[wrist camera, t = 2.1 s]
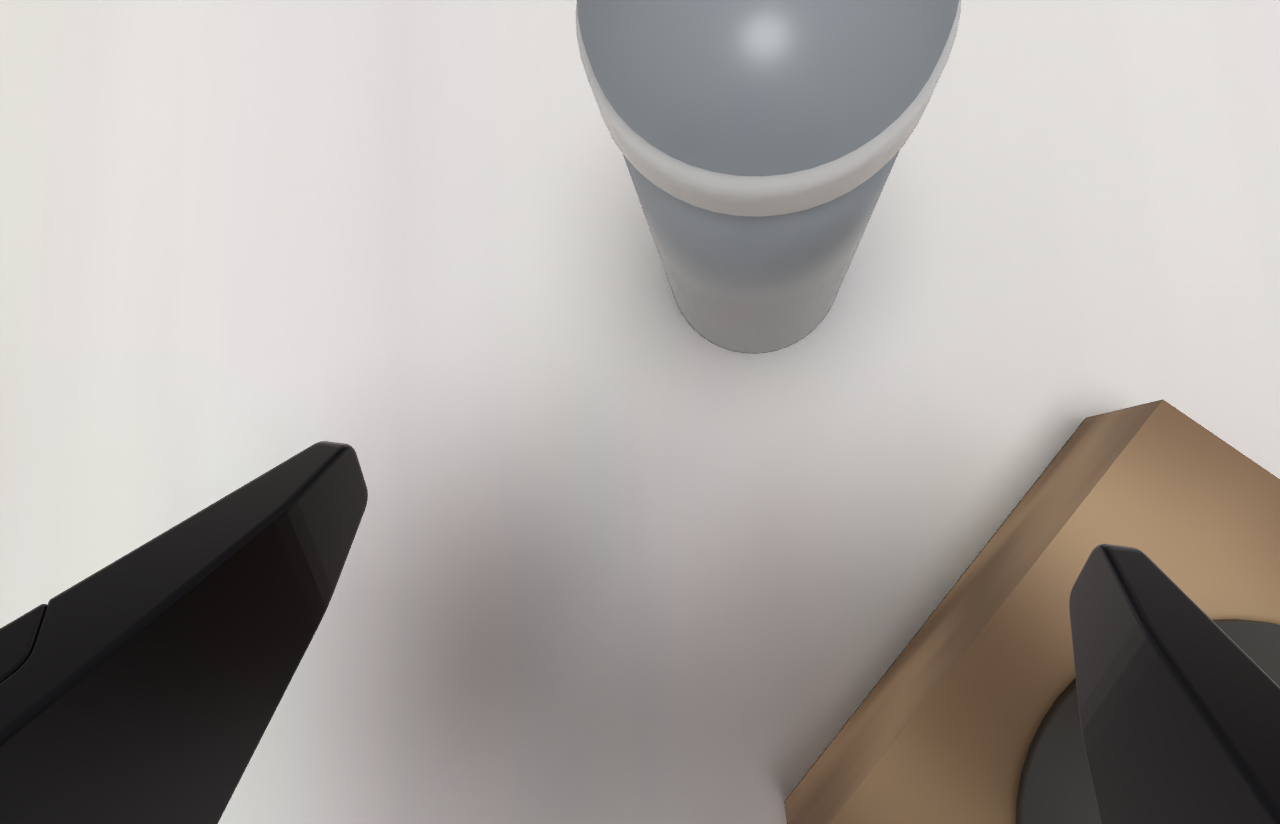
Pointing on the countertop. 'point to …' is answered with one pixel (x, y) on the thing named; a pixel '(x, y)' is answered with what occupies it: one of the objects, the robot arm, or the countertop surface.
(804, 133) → the grey bottle
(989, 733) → the stand
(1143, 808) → the robot arm
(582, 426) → the countertop surface
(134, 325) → the countertop surface
